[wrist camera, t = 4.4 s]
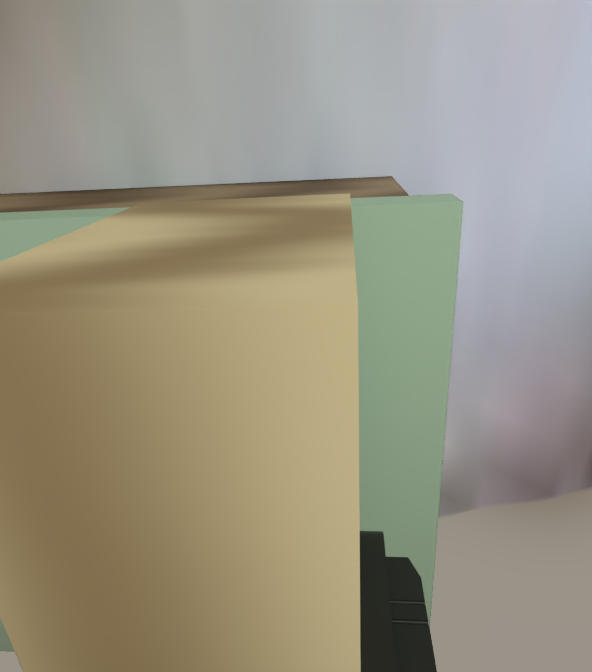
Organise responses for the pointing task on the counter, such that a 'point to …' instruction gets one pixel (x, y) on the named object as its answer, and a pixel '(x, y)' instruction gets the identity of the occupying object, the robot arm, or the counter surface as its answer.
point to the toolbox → (197, 193)
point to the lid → (370, 355)
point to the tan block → (183, 441)
